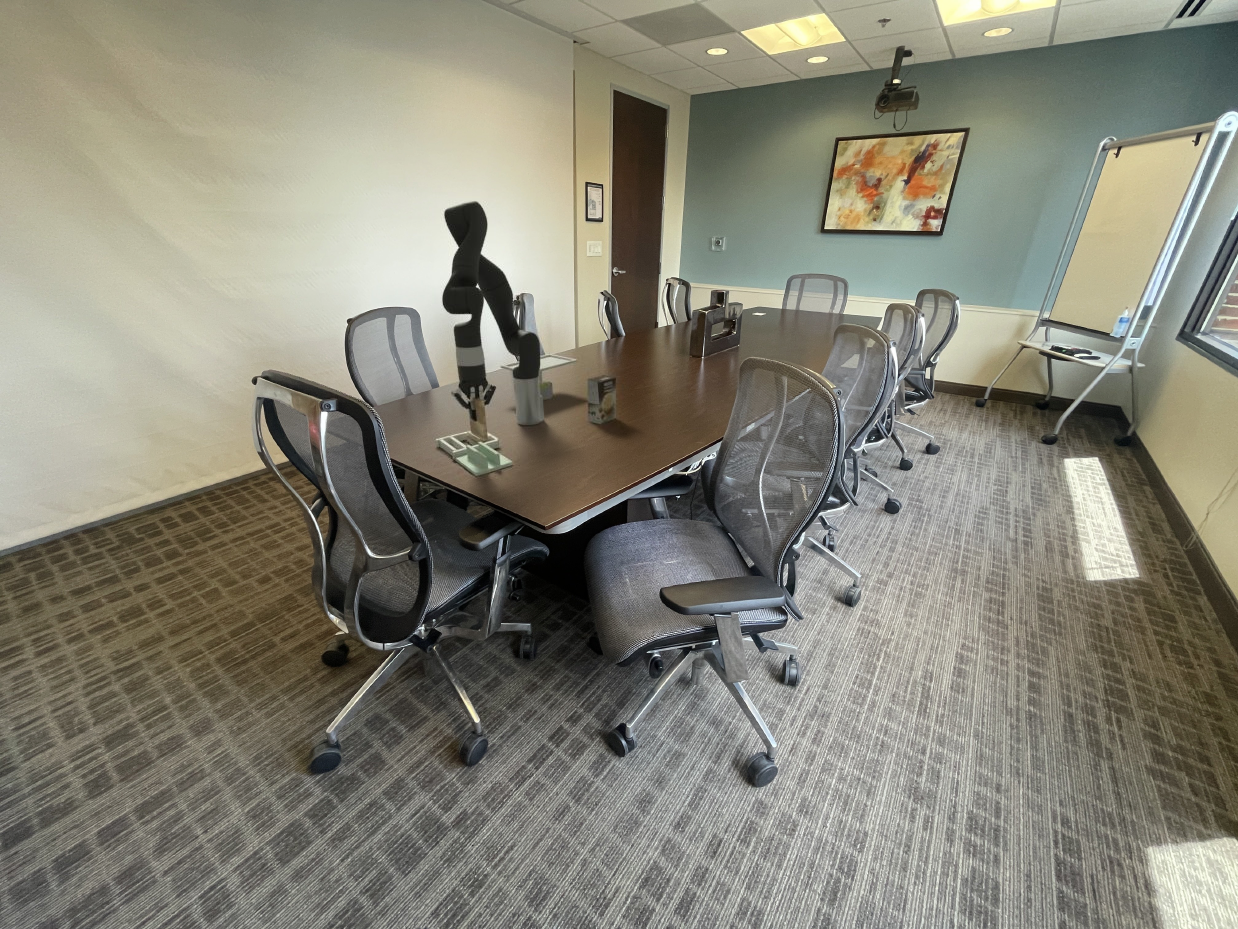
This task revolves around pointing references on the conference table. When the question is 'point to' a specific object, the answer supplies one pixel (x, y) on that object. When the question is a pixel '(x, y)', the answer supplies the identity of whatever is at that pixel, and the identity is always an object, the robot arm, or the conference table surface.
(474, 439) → the offcut stack
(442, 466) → the conference table surface
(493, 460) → the stand
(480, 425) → the wooden board
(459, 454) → the rack
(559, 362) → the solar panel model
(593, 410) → the coffee box
